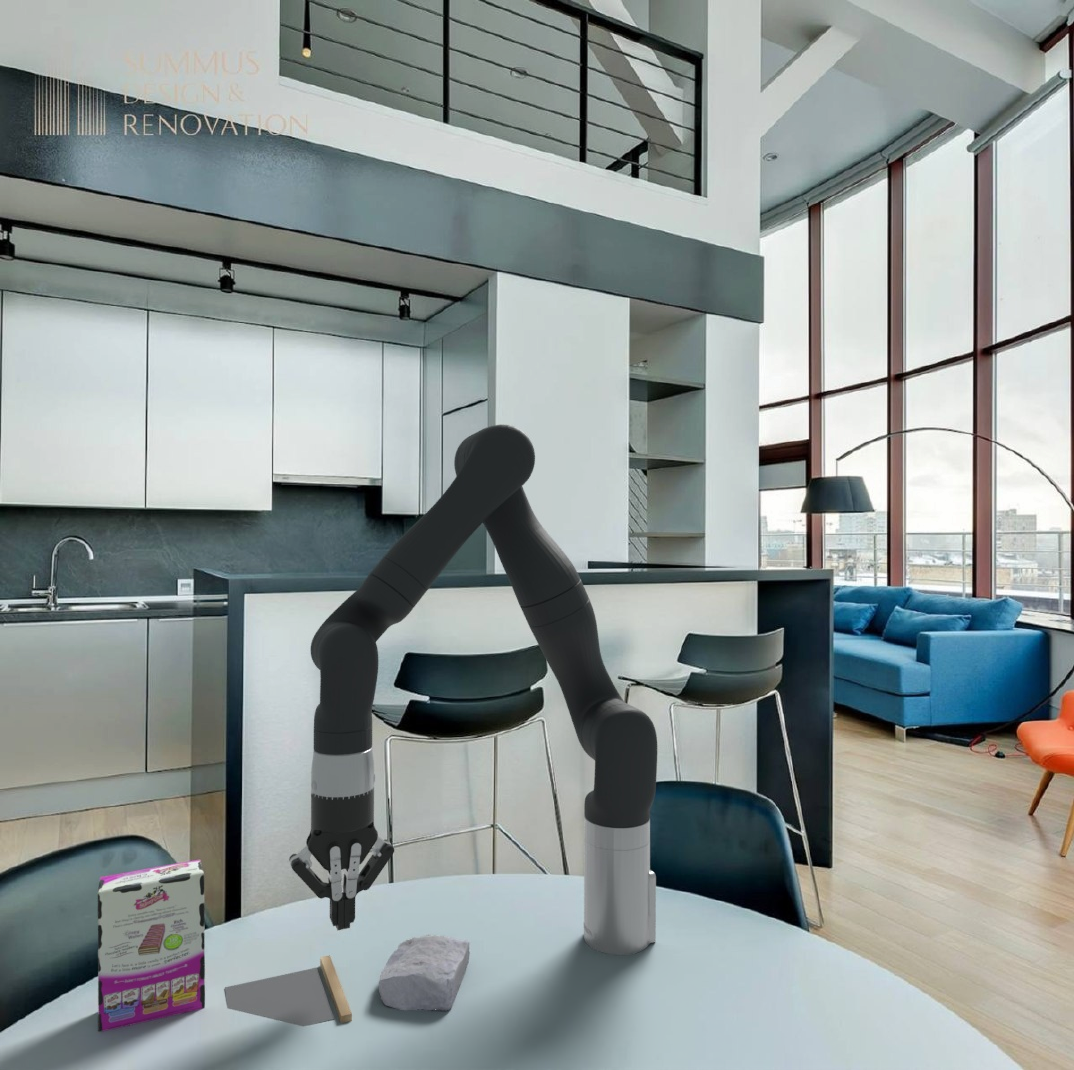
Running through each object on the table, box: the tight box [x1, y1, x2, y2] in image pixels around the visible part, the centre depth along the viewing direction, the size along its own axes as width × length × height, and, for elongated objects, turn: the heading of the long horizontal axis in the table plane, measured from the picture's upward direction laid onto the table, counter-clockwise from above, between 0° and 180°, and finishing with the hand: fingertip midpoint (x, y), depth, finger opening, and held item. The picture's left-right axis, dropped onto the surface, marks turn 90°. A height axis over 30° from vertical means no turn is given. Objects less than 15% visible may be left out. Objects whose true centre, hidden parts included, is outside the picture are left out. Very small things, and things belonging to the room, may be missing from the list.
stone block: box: [378, 934, 471, 1012], centre depth 99 cm, size 12×5×10 cm
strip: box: [319, 955, 353, 1024], centre depth 97 cm, size 1×14×1 cm, turn 25°
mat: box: [224, 967, 335, 1027], centre depth 94 cm, size 11×12×1 cm
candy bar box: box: [97, 859, 206, 1032], centre depth 92 cm, size 11×5×16 cm, turn 117°
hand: (342, 926), depth 97 cm, fingers closed
